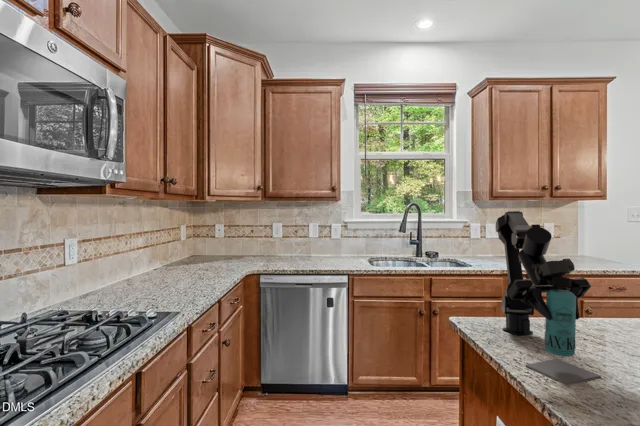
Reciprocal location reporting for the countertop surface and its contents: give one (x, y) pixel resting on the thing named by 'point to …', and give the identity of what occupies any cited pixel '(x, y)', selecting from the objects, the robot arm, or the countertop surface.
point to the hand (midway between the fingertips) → (564, 319)
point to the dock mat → (563, 371)
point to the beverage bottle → (560, 319)
